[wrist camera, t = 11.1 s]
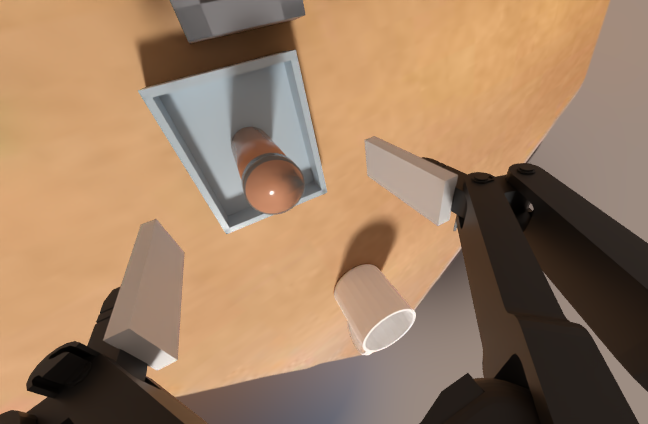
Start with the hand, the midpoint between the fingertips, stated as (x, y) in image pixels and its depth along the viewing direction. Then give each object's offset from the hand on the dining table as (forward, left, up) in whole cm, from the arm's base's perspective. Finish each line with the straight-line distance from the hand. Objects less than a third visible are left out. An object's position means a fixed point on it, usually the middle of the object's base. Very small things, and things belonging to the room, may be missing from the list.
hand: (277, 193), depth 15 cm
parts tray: (0, 0, -12) cm, 12 cm away
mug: (+32, +8, -12) cm, 36 cm away
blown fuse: (0, 0, -12) cm, 11 cm away
